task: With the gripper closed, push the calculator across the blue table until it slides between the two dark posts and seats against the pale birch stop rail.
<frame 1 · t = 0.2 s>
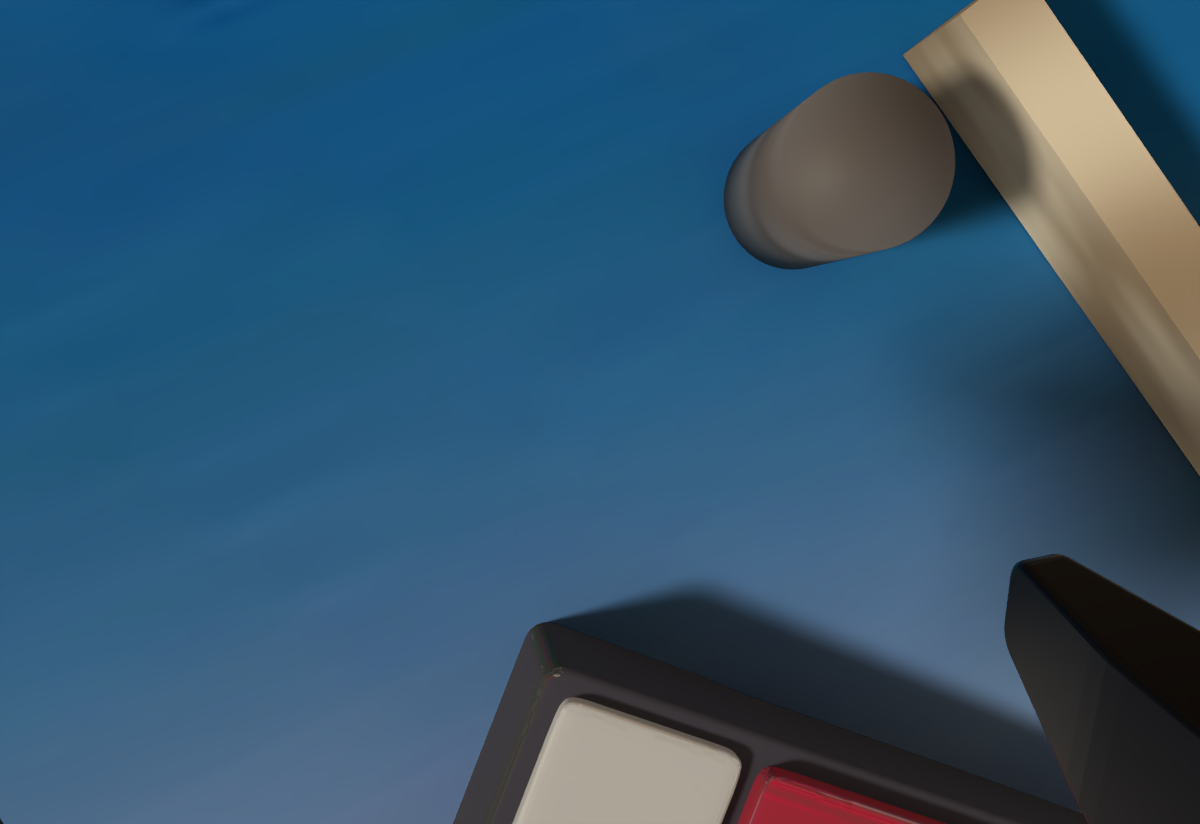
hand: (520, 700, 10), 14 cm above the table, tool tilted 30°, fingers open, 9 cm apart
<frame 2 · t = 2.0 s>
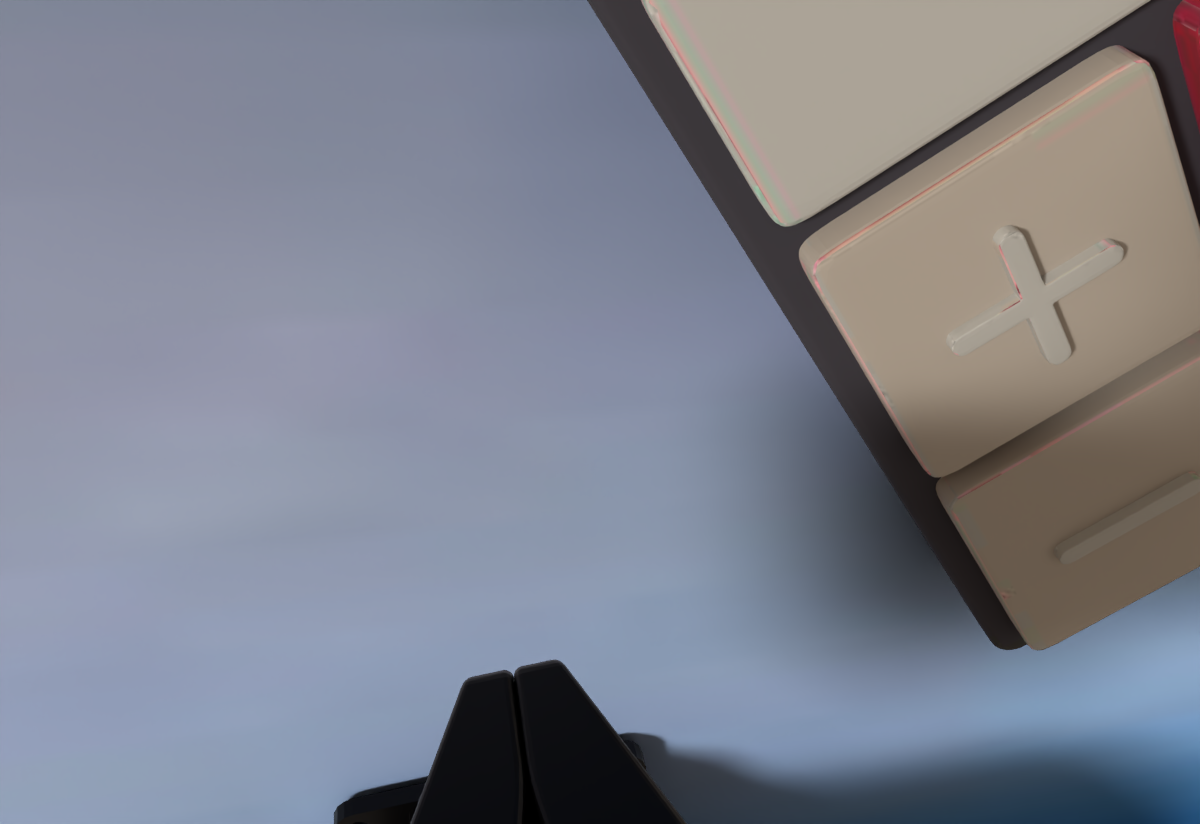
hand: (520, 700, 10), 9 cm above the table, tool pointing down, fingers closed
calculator: (1062, 104, 18), on the table
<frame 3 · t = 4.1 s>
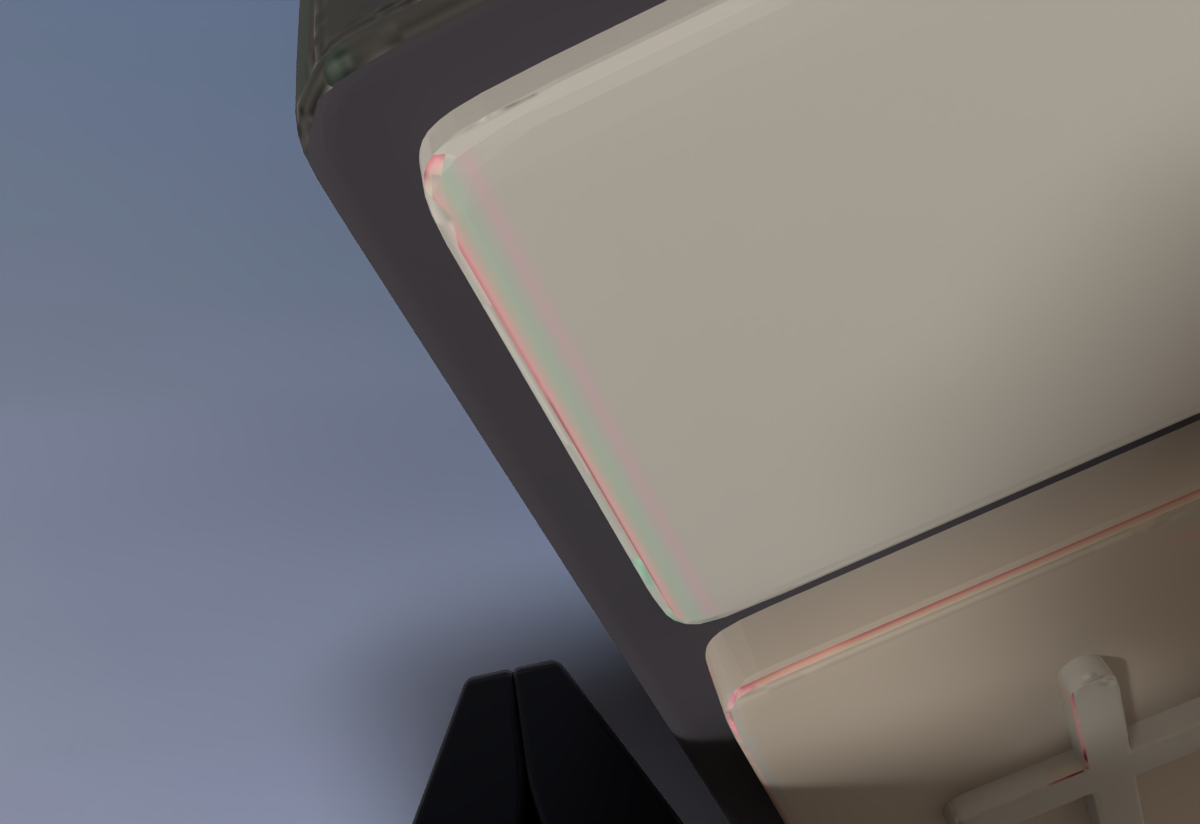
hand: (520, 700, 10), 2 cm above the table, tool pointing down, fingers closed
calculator: (1133, 367, 12), on the table, touching gripper
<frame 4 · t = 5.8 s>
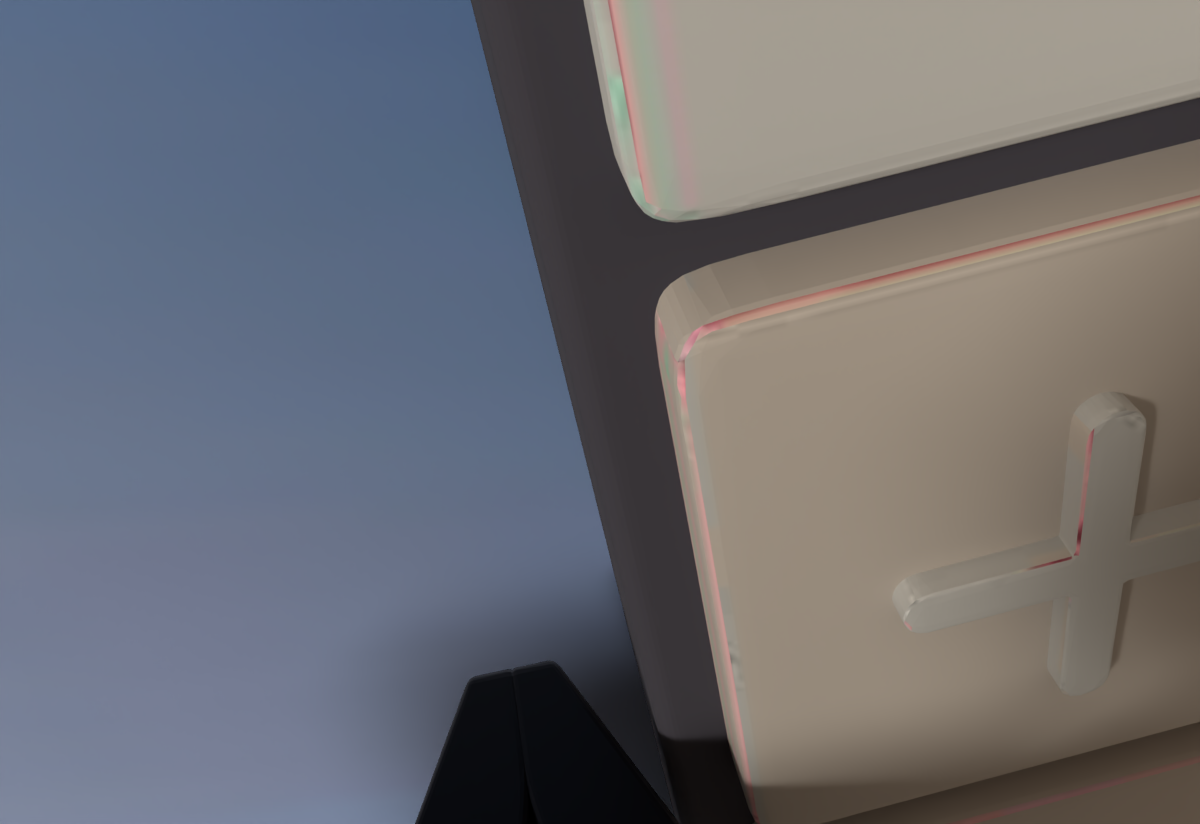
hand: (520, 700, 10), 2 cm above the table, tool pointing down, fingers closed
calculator: (1123, 231, 11), on the table
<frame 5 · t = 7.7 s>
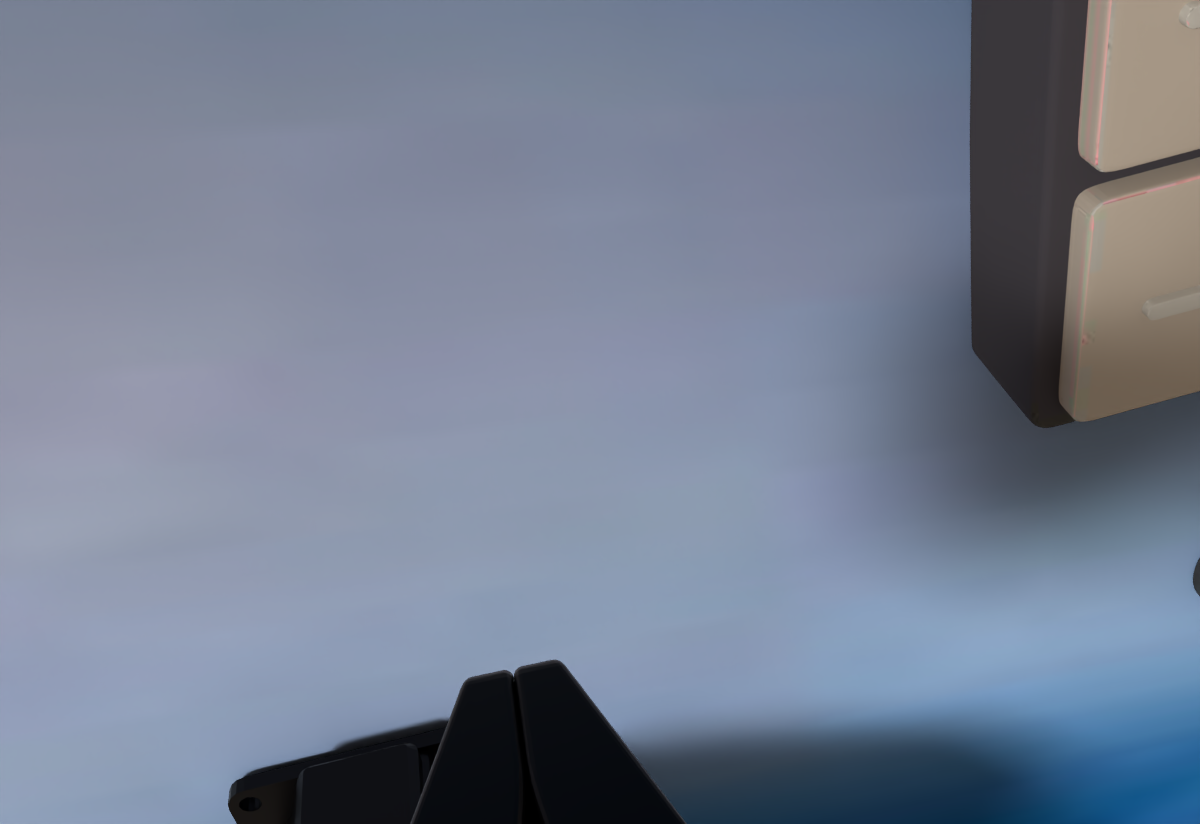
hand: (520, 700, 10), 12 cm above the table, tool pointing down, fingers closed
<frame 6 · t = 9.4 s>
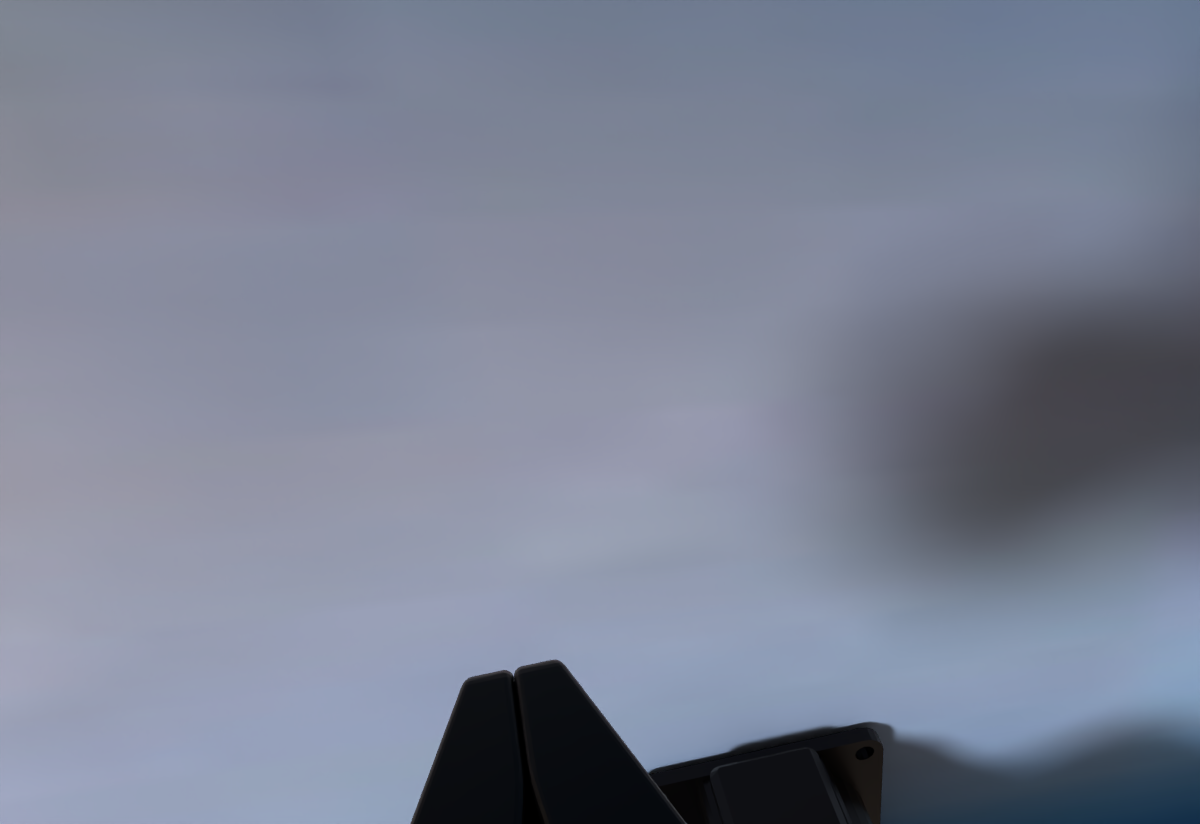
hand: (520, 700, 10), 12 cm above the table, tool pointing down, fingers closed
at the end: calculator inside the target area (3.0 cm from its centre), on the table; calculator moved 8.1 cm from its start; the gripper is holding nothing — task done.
